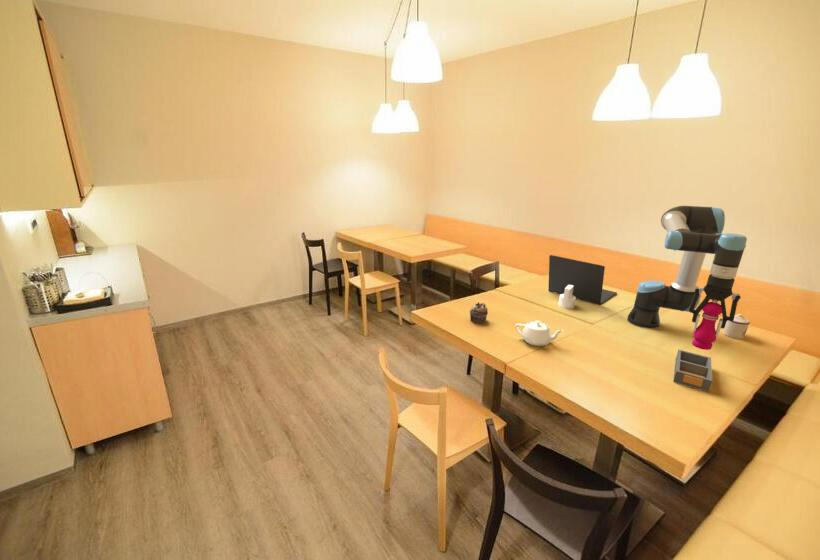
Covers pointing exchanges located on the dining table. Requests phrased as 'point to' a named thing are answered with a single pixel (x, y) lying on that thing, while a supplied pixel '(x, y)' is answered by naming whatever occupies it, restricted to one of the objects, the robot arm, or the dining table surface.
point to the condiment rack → (693, 370)
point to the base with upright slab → (567, 298)
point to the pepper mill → (707, 326)
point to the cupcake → (478, 313)
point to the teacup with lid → (736, 327)
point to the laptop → (578, 279)
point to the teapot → (537, 333)
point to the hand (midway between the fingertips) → (705, 332)
